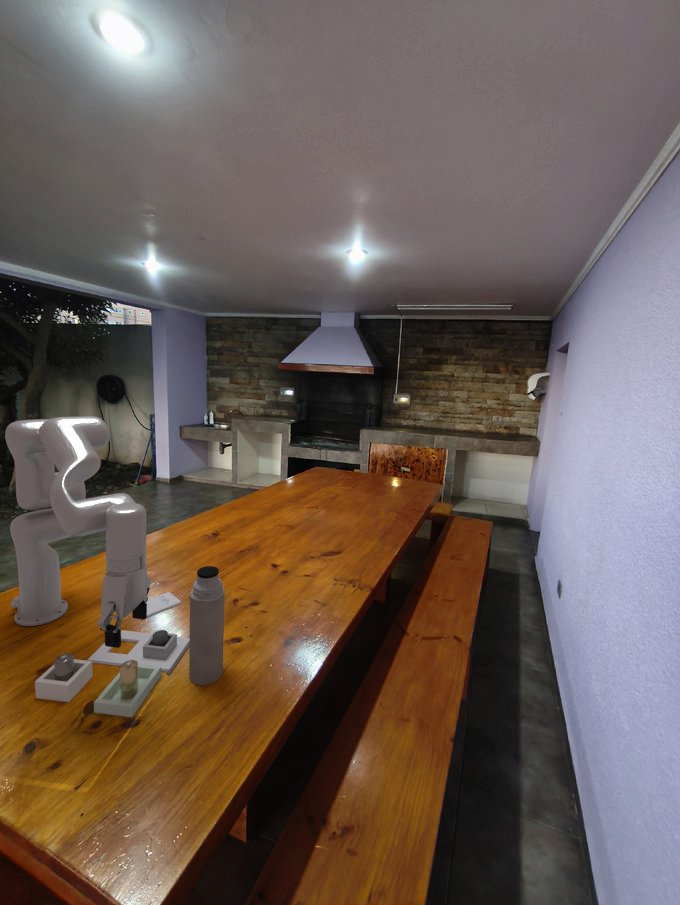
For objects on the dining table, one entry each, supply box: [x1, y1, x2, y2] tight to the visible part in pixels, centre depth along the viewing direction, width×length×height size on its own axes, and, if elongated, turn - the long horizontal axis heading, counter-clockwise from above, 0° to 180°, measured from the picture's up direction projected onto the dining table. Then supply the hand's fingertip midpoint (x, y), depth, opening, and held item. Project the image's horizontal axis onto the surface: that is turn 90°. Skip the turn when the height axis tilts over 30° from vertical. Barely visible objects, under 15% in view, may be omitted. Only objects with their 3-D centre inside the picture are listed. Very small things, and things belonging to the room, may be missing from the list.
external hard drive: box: [140, 591, 182, 621], centre depth 124 cm, size 2×8×12 cm
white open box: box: [34, 658, 94, 703], centre depth 89 cm, size 8×8×5 cm
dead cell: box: [53, 653, 75, 682], centre depth 89 cm, size 4×4×8 cm
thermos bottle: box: [188, 565, 226, 686], centre depth 96 cm, size 8×8×28 cm
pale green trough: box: [93, 664, 162, 718], centre depth 89 cm, size 8×12×3 cm
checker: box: [87, 629, 190, 676], centre depth 103 cm, size 21×12×4 cm, turn 86°
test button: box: [152, 629, 169, 647], centre depth 102 cm, size 4×4×4 cm
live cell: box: [119, 660, 138, 700], centre depth 88 cm, size 4×4×8 cm
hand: (127, 631), depth 87 cm, fingers open, 9 cm apart
